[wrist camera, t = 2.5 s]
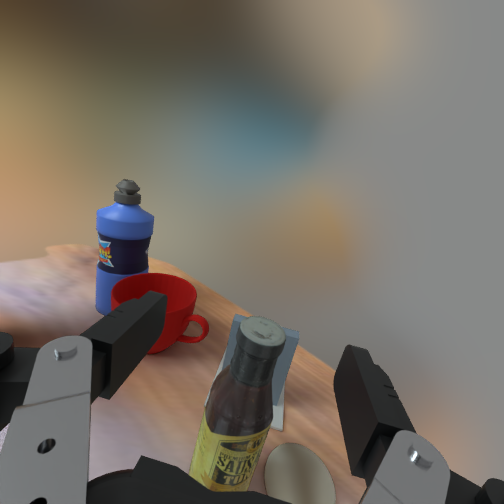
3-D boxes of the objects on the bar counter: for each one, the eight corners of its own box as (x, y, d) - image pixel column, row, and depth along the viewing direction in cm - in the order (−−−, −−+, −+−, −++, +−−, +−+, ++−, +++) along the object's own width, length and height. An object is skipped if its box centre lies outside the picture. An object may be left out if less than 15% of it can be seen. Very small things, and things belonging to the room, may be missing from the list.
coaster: (284, 544, 24) (285, 541, 24) (253, 454, 31) (254, 451, 30) (349, 515, 27) (351, 512, 27) (308, 439, 34) (310, 436, 34)
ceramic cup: (173, 397, 35) (182, 338, 32) (89, 344, 41) (90, 289, 38) (220, 346, 47) (231, 299, 44) (150, 310, 52) (155, 266, 49)
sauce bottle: (200, 543, 23) (245, 369, 16) (177, 471, 27) (206, 314, 21) (258, 500, 26) (314, 346, 20) (230, 444, 31) (267, 304, 25)
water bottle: (135, 289, 58) (144, 178, 51) (153, 310, 53) (166, 188, 45) (88, 298, 52) (90, 172, 44) (103, 323, 46) (108, 183, 38)
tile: (276, 406, 37) (299, 338, 33) (217, 388, 38) (232, 320, 34) (277, 396, 39) (298, 331, 35) (220, 379, 39) (235, 313, 36)
